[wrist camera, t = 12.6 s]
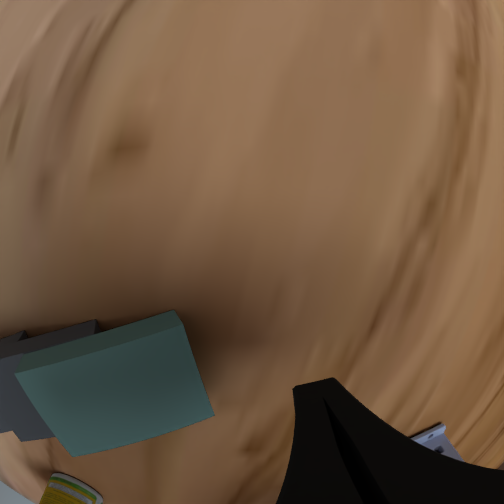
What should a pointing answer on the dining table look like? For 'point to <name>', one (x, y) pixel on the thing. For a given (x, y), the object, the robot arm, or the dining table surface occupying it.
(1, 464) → the dining table surface
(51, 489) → the supplement bottle
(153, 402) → the loose domino
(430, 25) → the dining table surface
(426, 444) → the robot arm
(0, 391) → the domino
